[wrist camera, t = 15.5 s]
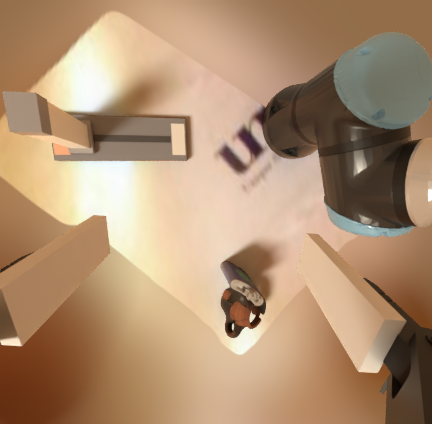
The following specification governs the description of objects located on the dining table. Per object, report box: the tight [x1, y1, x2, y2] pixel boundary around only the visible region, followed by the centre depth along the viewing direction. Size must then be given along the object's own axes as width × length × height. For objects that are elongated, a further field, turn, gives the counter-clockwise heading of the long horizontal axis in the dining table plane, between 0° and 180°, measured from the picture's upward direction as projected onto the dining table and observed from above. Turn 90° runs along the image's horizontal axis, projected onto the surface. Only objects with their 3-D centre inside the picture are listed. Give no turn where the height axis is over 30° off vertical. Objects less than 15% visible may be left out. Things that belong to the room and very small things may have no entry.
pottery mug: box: [221, 289, 266, 338], centre depth 49 cm, size 12×10×8 cm
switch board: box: [52, 114, 187, 161], centre depth 39 cm, size 24×8×2 cm, turn 91°
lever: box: [2, 91, 95, 154], centre depth 30 cm, size 4×6×14 cm
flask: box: [221, 262, 264, 306], centre depth 44 cm, size 9×3×11 cm, turn 50°
